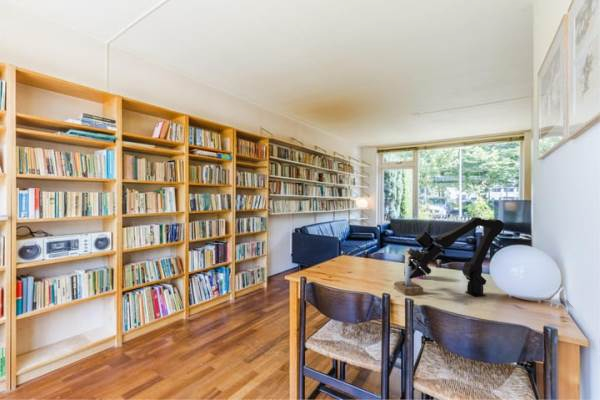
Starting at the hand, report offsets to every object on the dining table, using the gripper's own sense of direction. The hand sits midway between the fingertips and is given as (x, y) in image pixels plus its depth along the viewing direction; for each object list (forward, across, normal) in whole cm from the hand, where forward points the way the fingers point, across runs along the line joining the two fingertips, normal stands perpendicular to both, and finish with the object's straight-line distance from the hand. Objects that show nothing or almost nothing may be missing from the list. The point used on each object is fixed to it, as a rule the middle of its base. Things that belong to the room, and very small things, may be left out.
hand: (407, 275), depth 143 cm
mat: (+3, -13, +9) cm, 16 cm away
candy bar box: (-2, -27, +14) cm, 31 cm away
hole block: (+6, 0, +6) cm, 8 cm away
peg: (+6, 0, +6) cm, 8 cm away
